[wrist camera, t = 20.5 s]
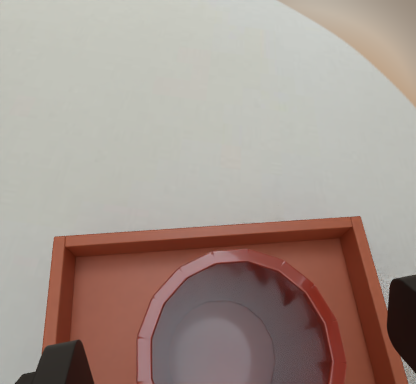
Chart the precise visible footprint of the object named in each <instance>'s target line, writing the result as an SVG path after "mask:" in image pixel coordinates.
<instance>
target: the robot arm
mask: <svg viewBox="0 0 416 384" xmlns="http://www.w3.org/2000/svg"><path fill="white" fill-rule="evenodd" d="M387 332H388V336H389V339H390V341H391V343H392V345H393V347H394V348H395V350H396V351H397V352H398V354H399V355H400V356H401V357H402V358H403V359H404V360H405V362H406V363H407V364H408V365H409V366H410V367H411V368H412V370H413V371H414V372H415V373H416V275H411V276H406V277H401V278H396V279H393V280H392V282H391V284H390V291H389V303H388V315H387ZM15 384H94V381H93V377H92V374H91V370H90V367H89V363H88V360H87V356H86V353H85V349H84V346H83V343H82V342H81V340H73V341H68V342H63V343H58V344H53V345H48V346H46V347H45V349H44V351H43V353H42V356H41V358H40V361H39V364H38V367H37V369H36V372H32V373H27V374H23V375H22V376H21V377H20V378H19V379H18V381H17V382H16V383H15Z"/></svg>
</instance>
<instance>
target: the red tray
mask: <svg viewBox="0 0 416 384" xmlns="http://www.w3.org/2000/svg"><path fill="white" fill-rule="evenodd" d="M246 248H247V249H252V250H255V251H258V252H261V253H264V254H267V255H271V256H274V257H277V258H280V259H283V261H286V262H287V263H289V264H290V265H291V266H292V267H294V268H295V269H296V270H298V271H299V272H300V273H301V274H303V275H304V276H305V277H306V278H308V279H309V280H310V281H311V282H313V283H314V285H316V287H317V288H318V290H319V291H320V293H321V295H322V296H323V298H324V299H325V301H326V303H327V304H328V306H329V307H330V309H331V311H332V312H333V314H334V315H335V317H336V319H337V320H336V321H338V325H339V329H340V334H341V338H342V343H343V347H344V352H345V356H346V361H347V363H346V364H347V369H346V377H345V384H408V381H407V378H406V374H405V371H404V367H403V364H402V360H401V357H400V355H399V354H398V352H397V351H396V350H395V348H394V347H393V345H392V343H391V341H390V339H389V336H388V332H387V315H388V311H387V308H386V304H385V301H384V297H383V294H382V290H381V287H380V283H379V280H378V276H377V273H376V269H375V266H374V262H373V259H372V255H371V252H370V248H369V245H368V241H367V238H366V234H365V231H364V227H363V224H362V220H361V217H360V216H357V217H341V218H326V219H311V220H296V221H281V222H266V223H251V224H236V225H222V226H207V227H192V228H177V229H162V230H147V231H132V232H117V233H102V234H88V235H73V236H59V237H54V242H53V251H52V261H51V270H50V280H49V290H48V299H47V309H46V318H45V328H44V337H43V347H42V353H43V351H44V349H45V347H46V346H48V345H53V344H58V343H63V342H68V341H73V340H81V342H82V343H83V346H84V349H85V353H86V356H87V360H88V363H89V367H90V370H91V374H92V377H93V381H94V384H137V382H136V339H137V334H138V332H139V329H140V326H141V324H142V321H143V318H144V316H145V313H146V310H147V308H148V305H149V303H150V300H151V298H153V295H154V294H155V293H156V292H157V290H158V289H159V288H160V287H161V286H162V285H163V284H164V283H165V282H166V280H167V279H168V278H169V277H170V276H171V275H172V274H173V273H174V272H175V270H176V269H177V268H179V267H180V266H182V265H184V264H186V263H188V262H190V261H192V260H194V259H196V258H198V257H200V256H202V255H204V254H206V253H208V252H212V251H218V250H232V249H246Z"/></svg>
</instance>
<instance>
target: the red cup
mask: <svg viewBox="0 0 416 384" xmlns="http://www.w3.org/2000/svg"><path fill="white" fill-rule="evenodd" d="M336 320H337V319H336V317H335V315H334V314H333V312H332V311H331V309H330V307H329V306H328V304H327V303H326V301H325V299H324V298H323V296H322V295H321V293H320V291H319V290H318V288H317V287H316V285H314V283H313V282H311V281H310V280H309V279H308V278H306V277H305V276H304V275H303V274H301V273H300V272H299V271H298V270H296V269H295V268H294V267H292V266H291V265H290V264H289V263H287V262H286V261H283V259H280V258H277V257H274V256H271V255H267V254H264V253H261V252H258V251H255V250H252V249H247V248H246V249H232V250H218V251H212V252H208V253H206V254H204V255H202V256H200V257H198V258H196V259H194V260H192V261H190V262H188V263H186V264H184V265H182V266H180V267H179V268H177V269H176V270H175V272H174V273H173V274H172V275H171V276H170V277H169V278H168V279H167V280H166V282H165V283H164V284H163V285H162V286H161V287H160V288H159V289H158V290H157V292H156V293H155V294H154V295H153V298H151V300H150V303H149V305H148V308H147V310H146V313H145V316H144V318H143V321H142V324H141V326H140V329H139V332H138V334H137V339H136V382H137V384H345V377H346V369H347V364H346V363H347V361H346V356H345V352H344V347H343V343H342V338H341V334H340V329H339V325H338V321H336Z"/></svg>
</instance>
